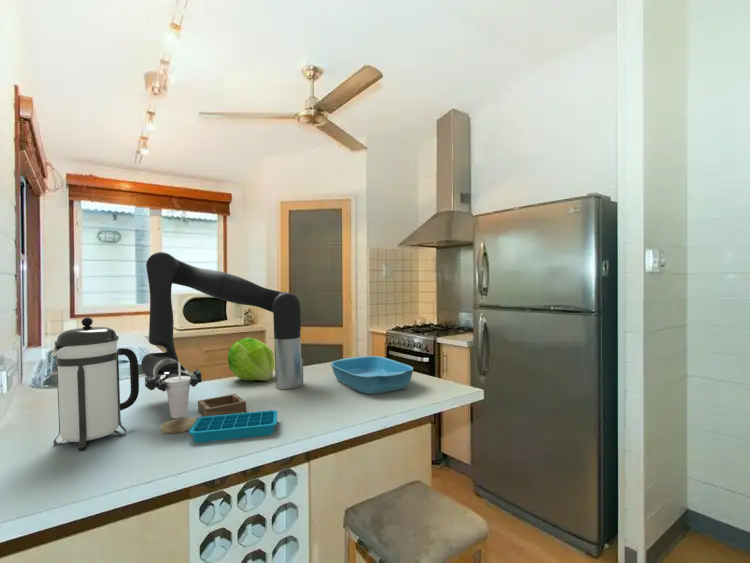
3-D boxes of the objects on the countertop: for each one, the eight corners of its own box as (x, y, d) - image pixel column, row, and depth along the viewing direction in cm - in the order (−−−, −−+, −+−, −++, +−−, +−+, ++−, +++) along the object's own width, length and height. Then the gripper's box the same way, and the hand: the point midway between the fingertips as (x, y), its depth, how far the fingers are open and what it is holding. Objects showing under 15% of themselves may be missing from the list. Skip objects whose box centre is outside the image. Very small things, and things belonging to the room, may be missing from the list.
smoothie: (181, 420, 103) (180, 365, 103) (159, 419, 105) (157, 364, 104) (197, 411, 110) (196, 360, 109) (176, 410, 111) (175, 359, 111)
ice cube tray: (198, 428, 107) (198, 417, 107) (277, 420, 111) (277, 409, 111) (188, 446, 95) (187, 433, 95) (276, 436, 99) (276, 424, 99)
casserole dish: (323, 377, 157) (322, 359, 157) (374, 370, 168) (374, 352, 168) (365, 402, 125) (364, 378, 125) (425, 391, 135) (425, 369, 135)
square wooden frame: (198, 410, 120) (197, 400, 120) (235, 403, 126) (234, 393, 126) (207, 420, 111) (206, 409, 111) (246, 412, 118) (246, 401, 118)
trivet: (198, 418, 113) (198, 415, 113) (199, 429, 105) (199, 425, 105) (161, 424, 109) (161, 421, 109) (160, 436, 101) (160, 432, 101)
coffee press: (121, 446, 95) (116, 318, 95) (39, 456, 91) (34, 322, 91) (140, 421, 112) (137, 312, 112) (72, 429, 108) (68, 315, 107)
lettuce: (242, 392, 144) (269, 356, 145) (209, 359, 152) (234, 325, 154) (268, 395, 159) (292, 362, 161) (237, 365, 168) (260, 334, 169)
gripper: (140, 363, 114) (147, 374, 101) (195, 356, 123) (208, 366, 109) (140, 390, 114) (148, 405, 101) (195, 381, 123) (209, 394, 109)
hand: (179, 385), depth 105 cm, fingers closed on smoothie, 6 cm apart
